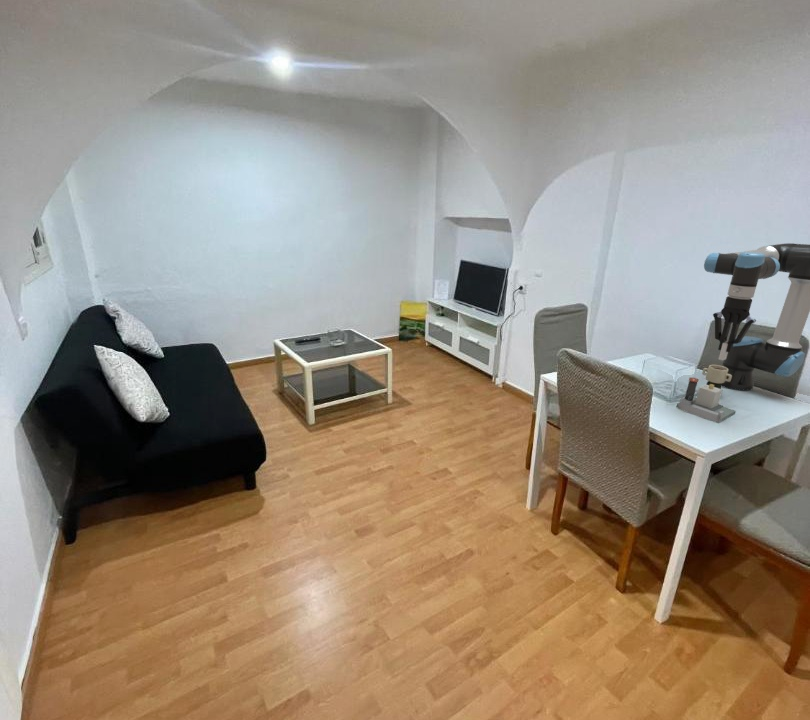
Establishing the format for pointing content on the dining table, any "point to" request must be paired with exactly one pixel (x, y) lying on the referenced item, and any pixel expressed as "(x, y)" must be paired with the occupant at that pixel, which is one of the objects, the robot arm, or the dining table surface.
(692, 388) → the lever
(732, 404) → the dining table surface
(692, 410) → the base plate
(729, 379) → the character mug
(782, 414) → the dining table surface
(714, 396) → the housing
